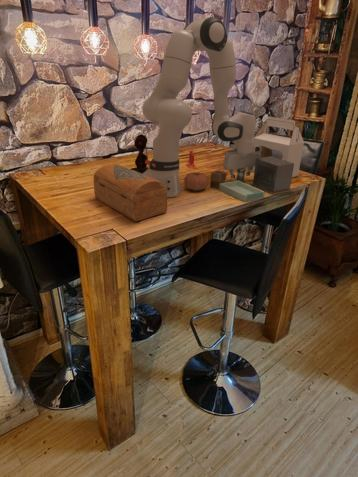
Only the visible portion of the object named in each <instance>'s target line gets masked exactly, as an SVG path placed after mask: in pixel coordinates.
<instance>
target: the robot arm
mask: <svg viewBox="0 0 358 477" xmlns="http://www.w3.org/2000/svg"><path fill="white" fill-rule="evenodd" d="M198 51H200V52H205V53H206V54H207V56H208V60H209V62H208V63H209V64H208V65H209V66H208V67H209V75H210V76H209V78H210V82H211V87H212V92H213V93H212V94H213V105H214V107H213V109H214V115H213V119H212V123H211V131H212V133H213V135H214V136H215V137H217V138H218V139H219V140H221V141H222V142H225V143H226V142H227V143H228V142H234V144H233V149H228V150H227V151H226V152H225V153H224V158H223V163H222V167H223V169H224V170H226V171H228V172H229V174H230V179H236V174H235V170H237V169H241V168H248V169H247V171H245V176H247V177H249V176H251V172H253V171H252V169H253V166H255V163H256V158H261V153H260V151H261V147H260V146H257V145H254V137H255V135H256V134H255V133H256V126H257V125H256V122H257V121H256V116H255V114H254V113H252V112H249V111H246V110H240V111H238V112H237V113H236V114H234V115H232V116H229V93H230V90H231V89H232V87H233V86H234V85H235V82H236V75H237V65H236V64H237V63H236V53H235V46H234V44H233V41H232V39H230V38H229V37H228V34H227V29H226V25H225V24H224V22H223V21H222V19H220V18H218V17H213V16H210V17H207V18H199V19H196V20H194V21H191V22H189V23H187V24H186V26H184V28H183V29H176V30H174V31H173V32H172V33H171V35H170V37H169V40H168V42H167V46H166V48H165V53H164V55H163V56H164V57H163V61H162V65H161V69H160V72H159V73H160V74H159V78H158V81H157V83H156V85H155V86H154V89H153V91H152V93H151V94H150V95H149V97H147V98H146V99H145V100H144V102H143V104H142V114H143V116H144V118H145V119H146V120H148V121H149V122H151V123H152V124H156V125H159V131H158V134H157V135H156V137H155V138H154V139H153V141H152V159H151V160H149V159H148V160H146V161H145V163H146V164H147V166H148V168H149V169H147V170H146V171H145V172H144V173H143V174H144V175H146V176H148V177H150V178H153V179H155V180H158V181H159V182H161V183H162V184H163V185H165V186H166V187H167V198H173V197H178V196H179V194H180V193H181V192H182V187H181V183H180V176H179V175H180V174H179V172H180V171H179V170H180V159H179V158H180V157H179V153H180V141H181V136H182V133H183V131H184V130H185V128H186V127H187V126H188V125H189V124H190V122H191V120H192V116H193V114H192V109H191V106H190V105H189V104H188V103H186V102H184V101H182V100H181V99H178V98H177V97H178V95H179V94H180V92H181V91H182V90H183V89H185V88H186V86H187V85H188V82H189V81H188V80H189V76H190V72H191V68H192V64H193V58H194V55H195V53H196V52H198Z"/></svg>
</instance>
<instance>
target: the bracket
mask: <svg viewBox="0 0 358 477" xmlns="http://www.w3.org/2000/svg"><path fill="white" fill-rule="evenodd" d="M188 162H189V163H188V164H185V166H186V168H192V169H193V168H196V165H195V152H194V151H193V150H189V154H188Z"/></svg>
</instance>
